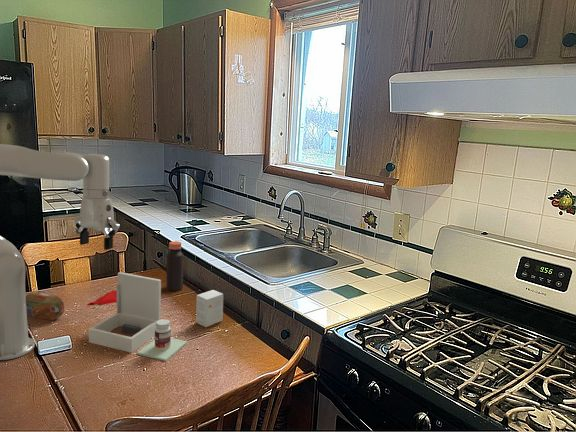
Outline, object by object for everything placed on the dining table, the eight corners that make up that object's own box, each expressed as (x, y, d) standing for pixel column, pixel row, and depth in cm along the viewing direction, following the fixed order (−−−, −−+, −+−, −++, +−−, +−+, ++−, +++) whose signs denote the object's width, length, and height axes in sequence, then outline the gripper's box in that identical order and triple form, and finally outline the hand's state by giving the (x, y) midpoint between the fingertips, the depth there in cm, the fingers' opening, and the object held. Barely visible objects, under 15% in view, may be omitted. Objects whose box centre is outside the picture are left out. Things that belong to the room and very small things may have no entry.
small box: (212, 316, 162) (213, 289, 160) (223, 320, 159) (223, 293, 157) (195, 322, 156) (196, 294, 154) (205, 327, 153) (206, 299, 151)
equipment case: (131, 352, 134) (131, 295, 130) (88, 342, 138) (87, 286, 135) (160, 331, 148) (160, 279, 144) (120, 322, 153) (120, 272, 149)
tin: (22, 315, 153) (21, 292, 152) (30, 311, 156) (28, 289, 155) (59, 322, 150) (58, 299, 148) (66, 318, 153) (65, 295, 151)
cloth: (145, 286, 188) (145, 281, 187) (157, 297, 177) (157, 292, 177) (79, 297, 172) (79, 292, 172) (88, 310, 162) (88, 304, 161)
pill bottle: (154, 344, 138) (154, 319, 137) (169, 342, 140) (170, 317, 138) (155, 351, 134) (155, 326, 132) (171, 349, 136) (171, 324, 134)
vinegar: (178, 284, 191) (179, 240, 187) (185, 289, 186) (186, 243, 182) (163, 287, 187) (163, 241, 183) (170, 292, 182) (171, 245, 178)
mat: (166, 361, 130) (166, 359, 130) (137, 354, 133) (137, 352, 133) (187, 343, 141) (187, 341, 141) (160, 337, 144) (160, 335, 144)
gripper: (126, 196, 139) (126, 248, 142) (83, 189, 144) (84, 239, 147) (109, 198, 132) (109, 253, 135) (65, 191, 137) (66, 244, 141)
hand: (96, 246), depth 141 cm, fingers open, 9 cm apart
